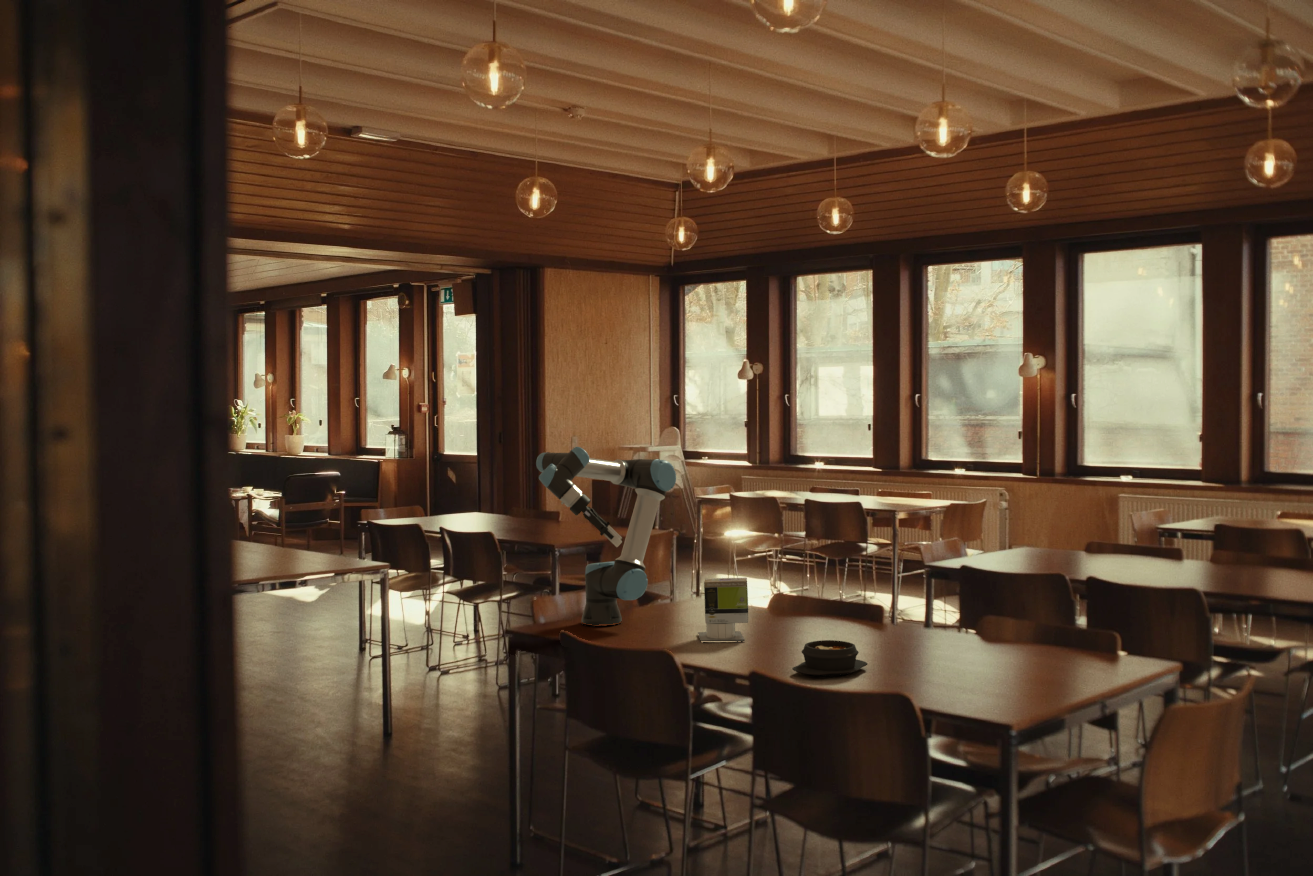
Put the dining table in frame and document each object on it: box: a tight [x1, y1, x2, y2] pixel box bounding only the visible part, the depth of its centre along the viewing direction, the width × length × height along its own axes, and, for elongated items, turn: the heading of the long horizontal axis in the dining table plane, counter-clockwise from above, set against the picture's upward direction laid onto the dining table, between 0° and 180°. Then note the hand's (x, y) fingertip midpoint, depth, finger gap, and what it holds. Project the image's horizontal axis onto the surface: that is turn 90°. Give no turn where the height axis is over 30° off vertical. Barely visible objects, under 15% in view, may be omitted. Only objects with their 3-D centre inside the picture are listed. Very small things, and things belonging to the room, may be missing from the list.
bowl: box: [697, 622, 745, 641], centre depth 397 cm, size 15×15×6 cm
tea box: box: [703, 577, 749, 624], centre depth 396 cm, size 15×10×15 cm
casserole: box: [791, 639, 869, 677], centre depth 341 cm, size 25×19×8 cm
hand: (619, 542), depth 400 cm, fingers open, 13 cm apart
